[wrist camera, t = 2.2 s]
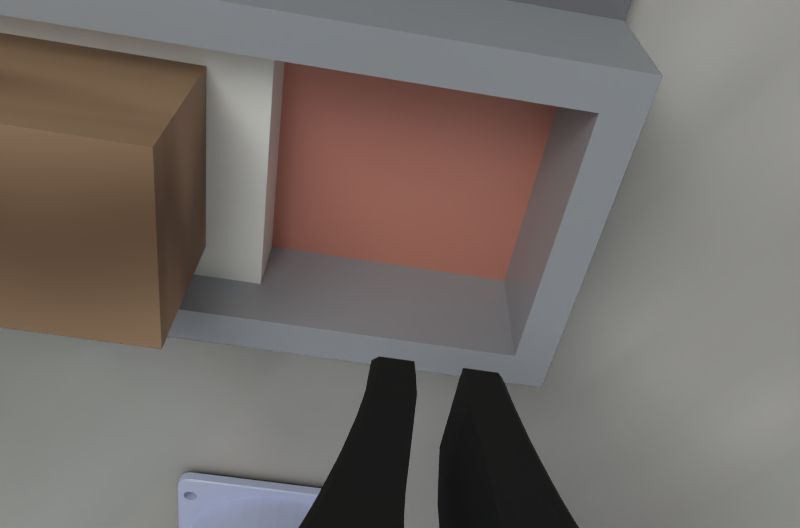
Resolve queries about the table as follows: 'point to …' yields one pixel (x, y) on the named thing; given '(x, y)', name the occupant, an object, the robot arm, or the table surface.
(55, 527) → the table surface
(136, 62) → the walnut block
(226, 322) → the trap channel
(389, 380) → the robot arm
